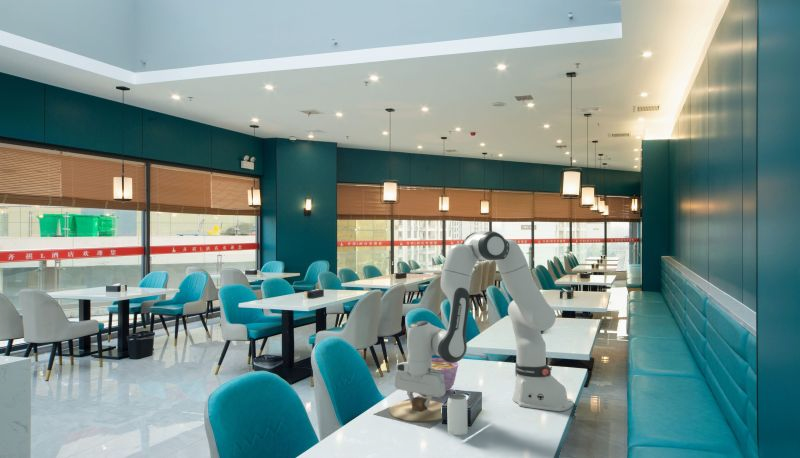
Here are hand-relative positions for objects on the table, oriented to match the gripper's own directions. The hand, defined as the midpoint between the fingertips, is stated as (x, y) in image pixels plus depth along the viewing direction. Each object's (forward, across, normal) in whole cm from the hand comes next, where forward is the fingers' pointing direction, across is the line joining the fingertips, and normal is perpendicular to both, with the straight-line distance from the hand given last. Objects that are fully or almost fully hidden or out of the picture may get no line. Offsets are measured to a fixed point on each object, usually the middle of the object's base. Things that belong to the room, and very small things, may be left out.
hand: (419, 405), depth 197 cm
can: (+3, -21, +9) cm, 23 cm away
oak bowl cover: (+2, 0, 0) cm, 2 cm away
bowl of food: (+3, +10, -25) cm, 27 cm away
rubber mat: (+3, 0, 0) cm, 3 cm away
